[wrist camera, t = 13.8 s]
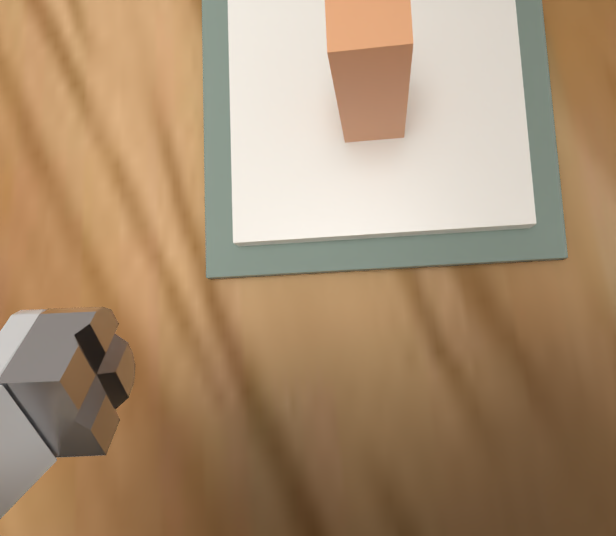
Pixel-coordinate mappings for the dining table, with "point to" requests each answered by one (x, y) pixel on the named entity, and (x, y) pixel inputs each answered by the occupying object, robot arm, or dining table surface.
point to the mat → (389, 250)
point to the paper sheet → (376, 119)
